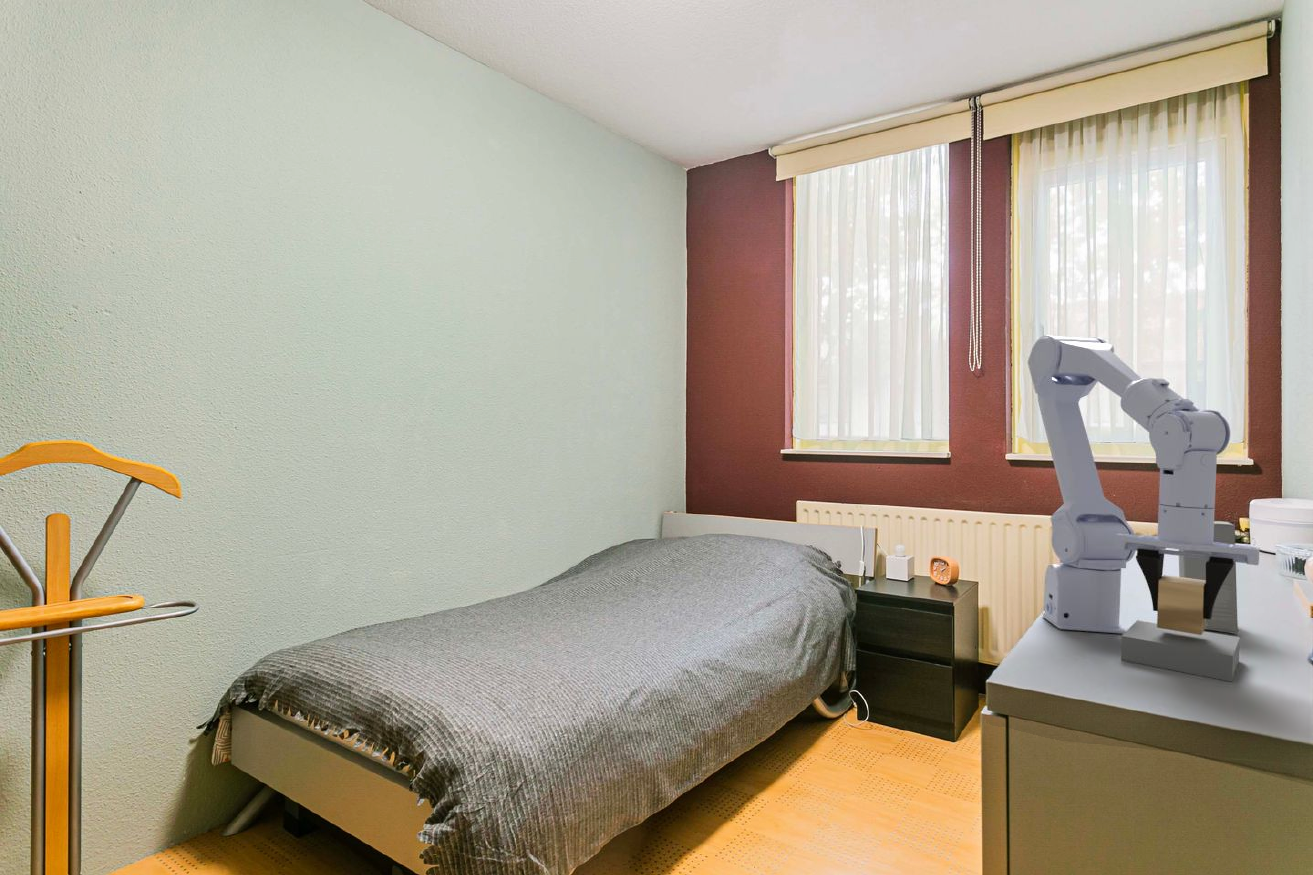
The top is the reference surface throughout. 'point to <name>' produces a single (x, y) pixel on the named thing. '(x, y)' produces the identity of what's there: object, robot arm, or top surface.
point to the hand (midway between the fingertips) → (1181, 613)
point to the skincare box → (1227, 595)
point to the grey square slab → (1181, 650)
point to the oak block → (1181, 604)
